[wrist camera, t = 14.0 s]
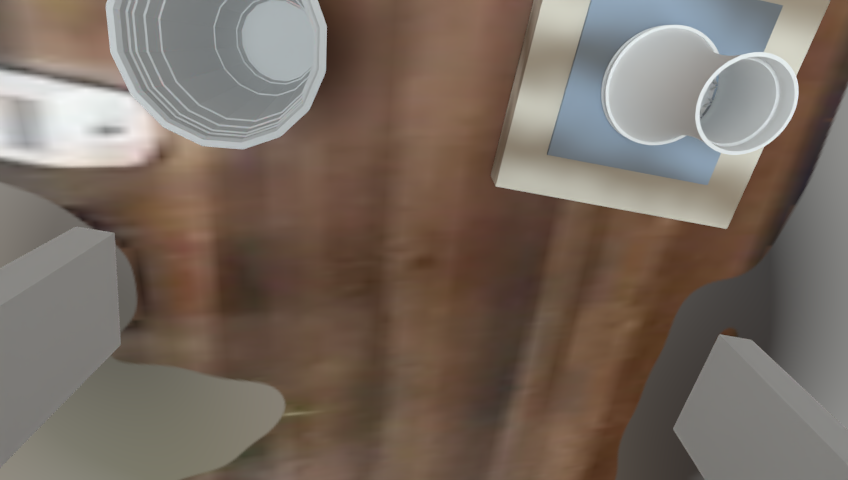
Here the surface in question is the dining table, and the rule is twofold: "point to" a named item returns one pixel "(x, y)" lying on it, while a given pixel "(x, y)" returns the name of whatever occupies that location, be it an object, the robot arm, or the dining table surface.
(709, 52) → the white flared tube
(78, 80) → the dining table surface
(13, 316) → the robot arm
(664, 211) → the plinth
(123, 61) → the plastic cup
